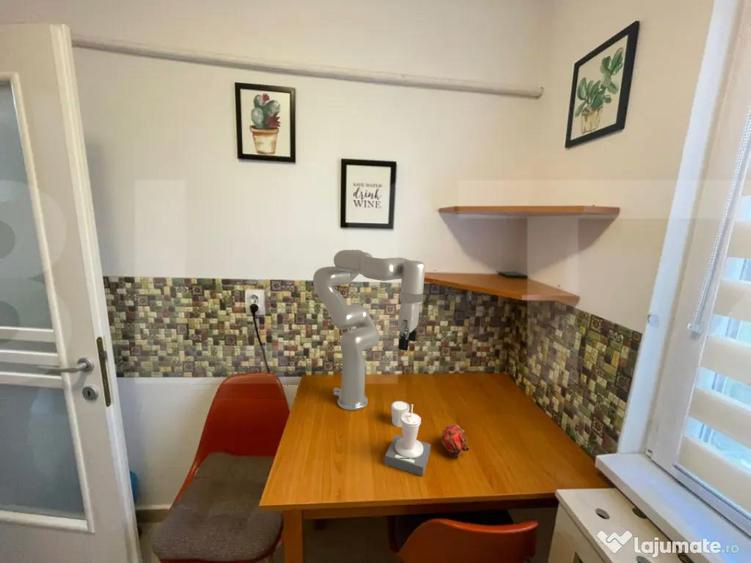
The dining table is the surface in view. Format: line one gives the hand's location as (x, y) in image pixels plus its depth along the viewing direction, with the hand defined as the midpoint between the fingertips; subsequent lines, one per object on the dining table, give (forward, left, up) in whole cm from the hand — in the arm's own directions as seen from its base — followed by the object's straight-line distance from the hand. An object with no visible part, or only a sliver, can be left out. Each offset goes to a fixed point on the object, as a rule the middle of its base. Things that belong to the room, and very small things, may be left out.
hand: (407, 345), depth 108 cm
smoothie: (+6, -12, -29) cm, 32 cm away
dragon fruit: (+19, -3, -33) cm, 38 cm away
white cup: (-2, +4, -33) cm, 33 cm away
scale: (+6, -13, -33) cm, 35 cm away
